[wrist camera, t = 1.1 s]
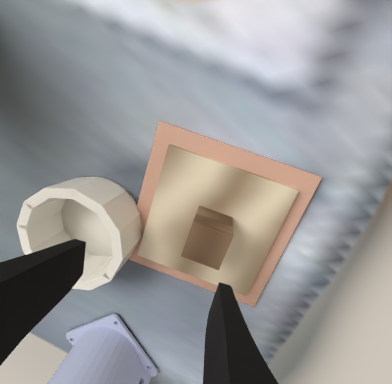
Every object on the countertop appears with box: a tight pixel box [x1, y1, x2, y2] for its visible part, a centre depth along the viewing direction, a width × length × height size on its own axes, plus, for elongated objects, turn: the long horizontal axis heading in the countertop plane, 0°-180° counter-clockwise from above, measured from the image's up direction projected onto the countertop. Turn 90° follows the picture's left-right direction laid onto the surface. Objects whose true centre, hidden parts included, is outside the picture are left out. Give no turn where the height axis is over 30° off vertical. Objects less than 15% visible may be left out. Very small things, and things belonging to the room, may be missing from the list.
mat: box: [128, 121, 322, 307], centre depth 20 cm, size 14×14×1 cm
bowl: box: [17, 176, 141, 290], centre depth 19 cm, size 9×9×4 cm
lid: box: [138, 144, 299, 296], centre depth 17 cm, size 11×11×4 cm
